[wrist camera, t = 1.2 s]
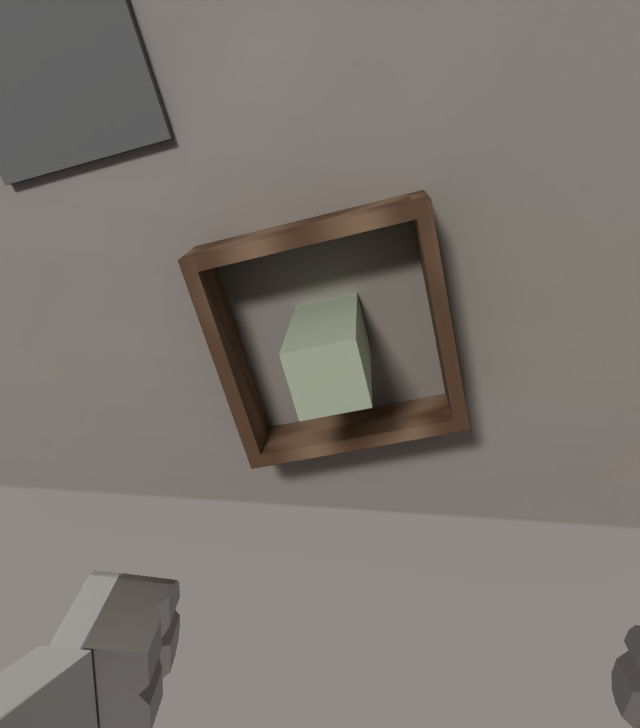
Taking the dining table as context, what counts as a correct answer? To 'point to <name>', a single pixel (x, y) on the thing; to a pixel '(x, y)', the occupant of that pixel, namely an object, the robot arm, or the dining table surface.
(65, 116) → the rubber mat
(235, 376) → the walnut crate
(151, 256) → the dining table surface
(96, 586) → the robot arm
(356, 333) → the green block
